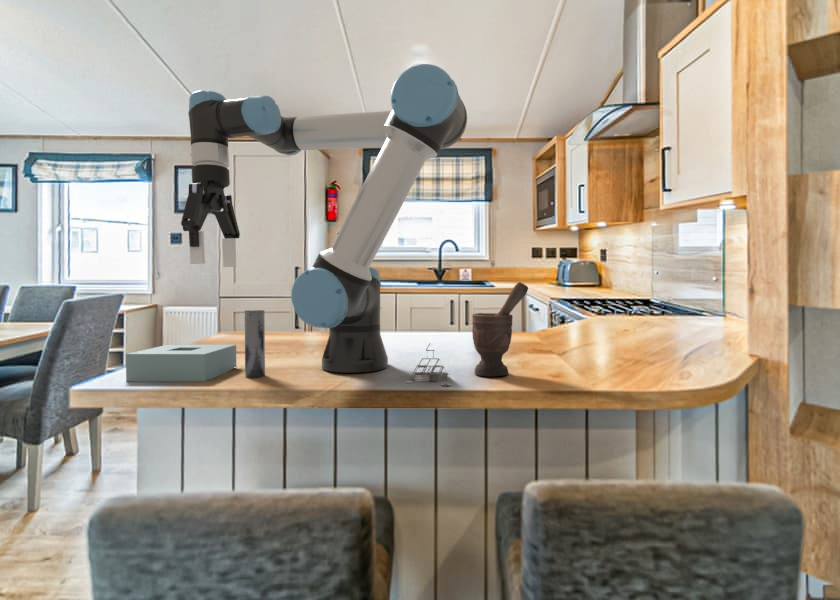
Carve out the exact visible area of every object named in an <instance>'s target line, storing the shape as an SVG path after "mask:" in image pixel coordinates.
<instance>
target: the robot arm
mask: <svg viewBox="0 0 840 600" xmlns="http://www.w3.org/2000/svg"><path fill="white" fill-rule="evenodd" d="M188 100H189V101H188V102H189V104H188V118H189V119H188V120H189V131H190V154H189V155H190V157H191V160H190V161H191V165H192V167H191V182H192V183H189V184H188V196H187V198H186V202H185V206H184V211H183V215H182V217H181V222H180V225H181V226H182V229H183V230H182V231H184V232H188V240H189V242H188V243H189V262H190V263H189V264H190V265H200V264H201V265H202V264H203V265H205V263H206V259H205V257H206V256H205V253H206V252H205V231H203V230H202V228H203V226H204V223H205V221H206V218H207V216H208V215H209V213H210V212H211V214H212V215H214V216H215V219H216V221H217V224H218V226H219V228H220V230H221V232H222V235H223V238H221V241H222V242H221V243H222V244H221V245H222V265H223V268H231V267H233V268H234V267H235V268H236V267H237V256H236V239H240V236H241V233H240V229H239V225H238V221H237V217H236V214H235V210H234V206H233V205H234V204H233V197H232V196H233V195H231V194H225V190H224V189H225V188H227V187H229V186H230V184H231V181H230V170H229V169H228V168H229V166H230V158H229V157H230V156H229V154H230V153H229V139H235V138H243V137H246V138H247V137H248V138H251V139H252V140H255V141H257V142H258V143H261V144H263V145H265V146H266V147H269V148H270V149H272V150H274V151H276V152H277V153H279V154H282V155H286V156H295V155H297V154H299V153H300V152H301V151H319V150H341V149H342V150H343V149H368V148H369V149H370V148H371V149H372V148H381V149H380V151H379V153H378V154H377V157H376V159H375V161H374V163H373V164H372V167H371V168H370V170H369V172H368V174H367V176H366V178H365V180H364V182H363V184H362V186H361V187H360V190H359V191H358V193H357V196H356V197H355V200H354V202H353V203H352V205H351V207H350V209H349V211H348V213H347V215H346V216H345V219H344V220H343V223H342V225H341V227H340V229H339V230H338V232H337V235H336V237H335V239H334V240H333V242H332V244H331V246H330V247H329V248H327V249H324V250H321V251H319V253H318V255H317V257H316V258H315V261H314V263H313V265H312V267H311V268H308V269H306V270H304V271H303V272H301V273H300V274H299V275H298V276H297V277H296V278H295V280H294V282H293V284H292V287H291V292H290V293H291V297H290V298H291V303H292V305H293V308H294V311H295V313H296V315H297V316H298V317H299V318H300V320H301V321H302V322H304V323H305V324H306V325H308V326H310V327H314V328H318V329H329V334H328V335H329V336H328V339H327V342H326V345H325V349H324V351H323V354H322V358H321V369H322V370H324V371H327V372H334V373H345V374H346V373H369V372H371V373H372V372H378V371H382V370H385V369H387V368H388V367H389V366H388V365H389V364H388V363H389V361H388V360H389V359H388V358H389V357H388V355H387V350H386V348H385V345H384V343H383V338H382V336H381V286H382V284H381V282H382V281H381V278H380V277H381V276H380V272H379V270H377V269H376V268H374V267H372V266H371V265H372V263H373V261H374V259H375V257H376V255H377V253H378V252H379V250H380V248H381V246H382V244H383V242H384V240H385V239H386V237H387V235H388V233H389V231H390V229H391V228H392V225H393V223H394V222H395V220H396V218H397V215H398V214H399V212H400V210H401V209H402V208H401V207H402V206H403V204H404V202H405V201H406V199H407V196H408V195H409V193H410V191H411V189H412V187H413V185H414V184H415V182H416V179H417V178H418V176H419V174H420V172H421V170H422V169H423V167H424V164H425V162H426V161H427V160H430V159H433V158H437V156H438V155H439V153H440V151H441V150H444V149H447V148H450V147H452V146H453V145H455V144H456V143H457V142H459V140H460V139H461V138H462V136H463V134H464V133H465V131H466V128H467V123H468V113H467V109H466V106H465V103H464V101H463V100H462V98H461V96H460V94H459V90H458V86H457V84H456V83H455V80H454V79H452V77H451V76H450V75H449V73H448V72H447V71H446V70H444V69H443V68H442V67H440V66H437V65H435V64H431V63H426V64H425V63H422V64H421V63H420V64H416V65H414V66H410V67H409V68H407V69H406V70H404V71H403V72H402V73H401V74H400V75H399V76H398V77H397V79H396V80H395V82H393V86H392V88H391V92H390V102H391V103H390V106H391V110H381V111H367V112H350V113H335V114H320V115H319V114H316V115H301V116H287V117H285V116H282V114H281V111H280V110H281V109H280V107H279V105H278V104H276V101H275V99H274V98H273V97H271V96H269V95H250V96H246V97H241V98H236V99H226V98H225V96H224V95H222V94H221V93H219V92H216V91H212V90H207V91H206V90H197V91H194V92H192V93H191V94H190V96H189V99H188Z"/></svg>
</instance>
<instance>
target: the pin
mask: <svg viewBox="0 0 840 600" xmlns="http://www.w3.org/2000/svg"><path fill="white" fill-rule="evenodd" d="M265 321H266V320H265V309H251V310H250V309H247V310H244V377H245V378H246V379H256V378H263V377H266V349H265V348H266V343H265V342H266V341H265V337H266V335H265V333H266V332H265V330H266V329H265V327H266V326H265V325H266V324H265Z"/></svg>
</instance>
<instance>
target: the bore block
mask: <svg viewBox="0 0 840 600" xmlns="http://www.w3.org/2000/svg"><path fill="white" fill-rule="evenodd" d="M234 367H236V368H237V344H165V345H161V346H155V347H152V348H147V349H142V350H138V351H133V352H129V353H126V354H125V373H126V374H125V376H126V378H125V380H126V381H125V382H207V381H209V380H212V379H214V378H217V377H219V376H222V375H223V374H227V373H228V371H229V370H231V369H233V368H234ZM233 370H234V369H233ZM231 371H232V370H231ZM229 372H230V371H229Z"/></svg>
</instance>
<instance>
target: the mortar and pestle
mask: <svg viewBox="0 0 840 600" xmlns="http://www.w3.org/2000/svg"><path fill="white" fill-rule="evenodd" d="M528 291H529V287H528V286H527V285H526V284H525V283H523V282H521V281H519V282H517V283H516V284H515V285H514V287H513V288H512V289H511V291H510V293H509V295H508V297H507V299H506V300H505V302H504V304H503V306H502V307H501V309H500V310H499V311H498V312H497V313H496V312H493V313H492V312H489V313H488V312H477V313H473V314H472V316H471V317H472V319H471V320H472V321H471V322H472V323H471V324H472V328H471V329H472V332H471V333H472V340H473V345H474V349H475V351H476V352H477V353H478V354H479V356H480V360H479V363H477V365H476V366H475V368H474V372H473V373H474V375H477V376H480V377H489V378H490V377H491V378H492V377H502V376H509V369H508V366H506V364H504V362H503V360H502V359H503V355H504V354H506V353H507V352H508V351H509V348H510V345H511V341H512V336H513V335H512V334H513V329H512V328H513V315H512V314H511V313H512V311H513V310H514V309H515V307H516V306H517V305H518V304H519V303H520V302H521V300H523V298H524V297H525V296H526V295H527V293H528Z"/></svg>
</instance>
